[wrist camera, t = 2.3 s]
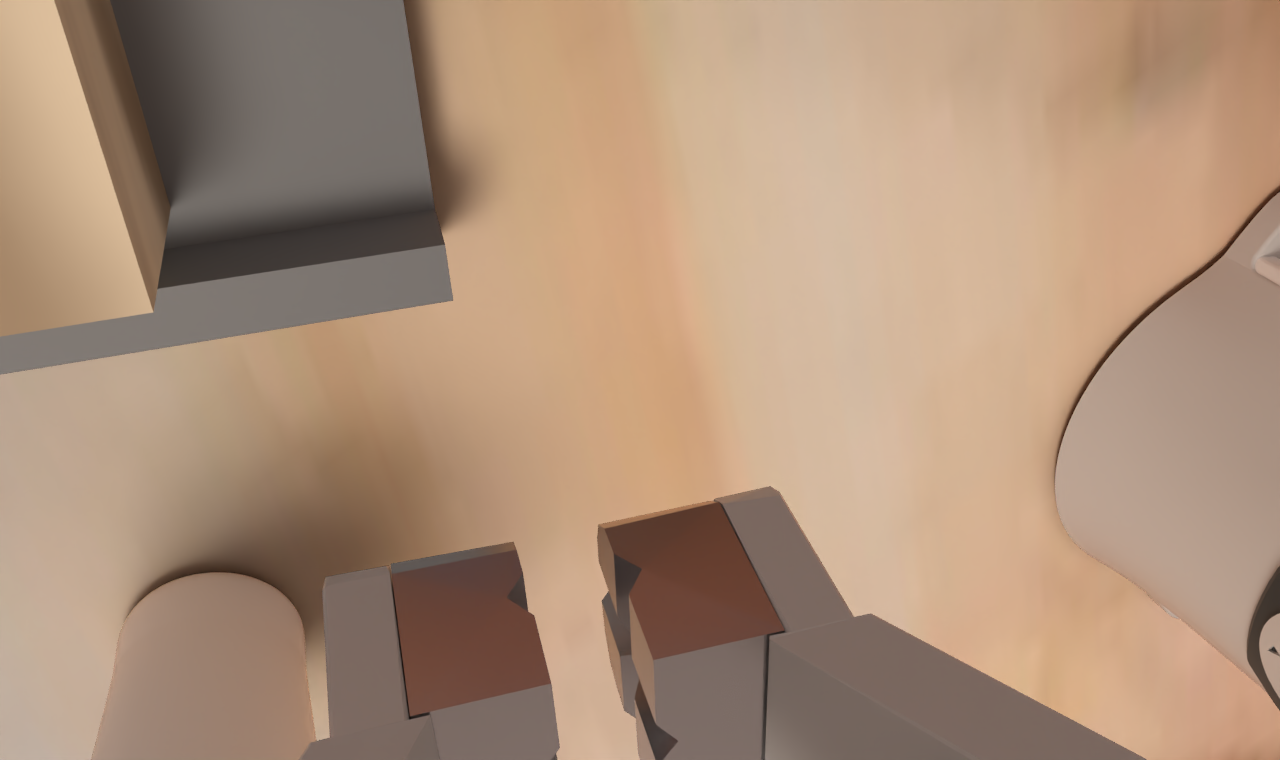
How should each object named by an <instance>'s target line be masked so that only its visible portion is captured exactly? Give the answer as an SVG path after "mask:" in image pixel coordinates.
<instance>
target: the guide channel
mask: <svg viewBox="0 0 1280 760" xmlns="http://www.w3.org/2000/svg"><path fill="white" fill-rule="evenodd" d="M110 2H111V5H112V8H113V12H114V15H115V19H116V22H117V26H118V29H119V32H120V36H121V39H122V43H123V46H124V50H125V53H126V56H127V60H128V63H129V67H130V70H131V74H132V77H133V80H134V84H135V87H136V91H137V94H138V98H139V101H140V105H141V108H142V111H143V115H144V118H145V122H146V125H147V129H148V132H149V135H150V139H151V142H152V146H153V149H154V153H155V156H156V159H157V163H158V166H159V170H160V173H161V177H162V180H163V183H164V187H165V190H166V194H167V197H168V201H169V204H170V207H171V209H170V215H169V222H168V228H167V234H166V240H165V246H164V252H163V258H162V264H161V270H160V276H159V282H158V288H157V294H156V300H155V306H154V312H153V313H147V314H140V315H134V316H128V317H121V318H115V319H109V320H102V321H96V322H90V323H83V324H77V325H71V326H64V327H58V328H52V329H45V330H39V331H33V332H26V333H20V334H14V335H7V336H1V337H0V374H7V373H13V372H19V371H25V370H31V369H37V368H43V367H49V366H55V365H62V364H68V363H74V362H80V361H86V360H92V359H98V358H104V357H111V356H117V355H123V354H129V353H135V352H141V351H147V350H153V349H159V348H166V347H172V346H178V345H184V344H190V343H196V342H202V341H208V340H214V339H221V338H227V337H233V336H239V335H245V334H251V333H257V332H263V331H270V330H276V329H282V328H288V327H294V326H300V325H306V324H312V323H318V322H325V321H331V320H337V319H343V318H349V317H355V316H361V315H367V314H373V313H380V312H386V311H392V310H398V309H404V308H410V307H416V306H422V305H429V304H435V303H441V302H447V301H453V295H452V289H451V282H450V275H449V269H448V262H447V255H446V249H445V243H444V240H443V236H442V233H441V229H440V225H439V222H438V218H437V215H436V211H435V206H434V200H433V193H432V186H431V180H430V173H429V167H428V160H427V153H426V147H425V140H424V134H423V127H422V121H421V114H420V107H419V101H418V94H417V88H416V81H415V74H414V68H413V61H412V55H411V48H410V41H409V35H408V28H407V22H406V15H405V8H404V2H403V0H110Z"/></svg>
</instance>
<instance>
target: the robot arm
mask: <svg viewBox="0 0 1280 760" xmlns="http://www.w3.org/2000/svg"><path fill="white" fill-rule="evenodd" d="M1055 496H1056V504H1057V509H1058V513H1059V516H1060V519H1061V521H1062V524H1063V526H1064V528H1065V530H1066V531H1067V533H1068V535H1069V536H1070V538H1071V539H1072V540H1073V541H1074V543H1075V544H1076V545H1077V546H1078V547H1079V548H1080V549H1082V550H1083V551H1084V552H1085V553H1087V554H1088V555H1090V556H1091V557H1093V558H1095V559H1096V560H1098V561H1100V562H1101V563H1103V564H1104V565H1106V566H1108V567H1109V568H1111V569H1113V570H1114V571H1116V572H1117V573H1119V574H1120V575H1122V576H1123V577H1125V578H1126V579H1128V580H1129V581H1131V582H1132V583H1134V584H1135V585H1136V586H1138V587H1139V588H1140V589H1142V590H1143V591H1144V592H1146V593H1147V595H1148V596H1149V597H1150V598H1151V599H1152V600H1153V601H1154V602H1155V603H1156V604H1157V605H1158V606H1160V607H1161V608H1162V609H1163V610H1164V611H1165V612H1166V613H1168V614H1169V615H1170V616H1172V617H1174V618H1177V619H1181V620H1182V621H1183V622H1184V623H1185V624H1187V625H1188V626H1189V627H1190V628H1191V629H1193V630H1194V631H1195V632H1196V633H1197V634H1198V635H1200V636H1201V637H1202V638H1203V639H1204V640H1206V641H1207V642H1208V643H1209V644H1210V645H1211V646H1213V647H1214V648H1215V649H1216V650H1217V651H1218V652H1220V653H1221V654H1222V655H1223V656H1224V657H1226V658H1227V659H1228V660H1229V661H1230V662H1231V663H1233V664H1234V665H1235V666H1236V667H1237V668H1238V669H1240V670H1241V671H1242V672H1243V673H1244V674H1246V675H1247V676H1248V677H1249V678H1250V679H1251V680H1253V681H1254V682H1255V683H1256V684H1257V685H1258V686H1260V687H1261V688H1262V689H1263V690H1264V691H1266V692H1267V693H1268V694H1269V696H1270V697H1271V699H1272V700H1273V702H1274V703H1275V705H1276V706H1277V707H1278V709H1279V710H1280V192H1279V193H1278V194H1277V195H1275V196H1274V197H1273V198H1272V199H1271V200H1270V201H1269V202H1268V203H1267V204H1266V205H1265V206H1264V207H1263V208H1262V209H1261V210H1260V212H1259V213H1258V214H1257V215H1256V216H1255V217H1254V218H1253V220H1252V221H1251V222H1250V223H1249V224H1248V226H1247V227H1246V228H1245V229H1244V231H1243V232H1242V233H1241V234H1240V235H1239V237H1238V238H1237V239H1236V240H1235V242H1234V243H1233V244H1232V246H1231V247H1230V248H1229V249H1228V251H1227V252H1226V253H1225V254H1224V256H1223V257H1221V258H1220V259H1219V260H1218V261H1217V262H1216V263H1215V264H1214V265H1213V266H1211V267H1210V268H1209V269H1208V270H1206V271H1205V272H1204V273H1203V274H1201V275H1200V276H1199V277H1197V278H1196V279H1195V280H1193V281H1192V282H1190V283H1189V284H1188V285H1186V286H1185V287H1184V288H1182V289H1181V290H1179V291H1178V292H1177V293H1175V294H1174V295H1173V296H1171V297H1170V298H1169V299H1167V300H1166V301H1165V302H1164V303H1162V304H1161V305H1160V306H1159V307H1158V308H1156V309H1155V310H1154V311H1153V312H1152V313H1151V314H1149V315H1148V316H1147V317H1146V318H1145V319H1144V320H1143V321H1142V322H1141V323H1140V324H1139V325H1138V326H1137V327H1136V328H1135V329H1134V330H1133V331H1132V332H1131V333H1130V334H1129V335H1128V336H1127V337H1126V338H1125V339H1124V340H1123V341H1122V342H1121V343H1120V344H1119V346H1118V347H1117V348H1116V349H1115V350H1114V351H1113V353H1112V354H1111V355H1110V356H1109V357H1108V359H1107V360H1106V361H1105V363H1104V364H1103V365H1102V367H1101V368H1100V369H1099V371H1098V372H1097V374H1096V375H1095V376H1094V378H1093V379H1092V381H1091V382H1090V384H1089V386H1088V387H1087V389H1086V390H1085V392H1084V394H1083V395H1082V397H1081V399H1080V401H1079V403H1078V405H1077V407H1076V408H1075V411H1074V413H1073V415H1072V417H1071V419H1070V421H1069V424H1068V426H1067V429H1066V432H1065V434H1064V437H1063V440H1062V444H1061V447H1060V451H1059V455H1058V460H1057V466H1056V474H1055ZM597 542H598V557H599V563H600V566H601V569H602V572H603V575H604V578H605V581H606V584H607V587H608V590H609V591H608V593H607V594H606V596H605V597H604V599H603V600H602V607H603V617H604V626H605V634H606V640H607V646H608V651H609V657H610V663H611V667H612V670H613V674H614V678H615V682H616V685H617V689H618V692H619V695H620V698H621V702H622V705H623V708H624V711H626V712H627V713H629V714H630V715H632V716H633V717H635V718H636V729H637V743H638V754H639V757H640V760H1146V759H1145V758H1143V757H1141V756H1139V755H1137V754H1136V753H1134V752H1132V751H1130V750H1128V749H1126V748H1124V747H1122V746H1120V745H1119V744H1117V743H1115V742H1113V741H1111V740H1109V739H1107V738H1105V737H1103V736H1102V735H1100V734H1098V733H1096V732H1094V731H1092V730H1090V729H1088V728H1086V727H1085V726H1083V725H1081V724H1079V723H1077V722H1075V721H1073V720H1071V719H1069V718H1068V717H1066V716H1064V715H1062V714H1060V713H1058V712H1056V711H1054V710H1052V709H1051V708H1049V707H1047V706H1045V705H1043V704H1041V703H1039V702H1037V701H1035V700H1034V699H1032V698H1030V697H1028V696H1026V695H1024V694H1022V693H1020V692H1018V691H1017V690H1015V689H1013V688H1011V687H1009V686H1007V685H1005V684H1003V683H1001V682H1000V681H998V680H996V679H994V678H992V677H990V676H988V675H986V674H984V673H983V672H981V671H979V670H977V669H975V668H973V667H971V666H969V665H967V664H966V663H964V662H962V661H960V660H958V659H956V658H954V657H952V656H950V655H949V654H947V653H945V652H943V651H941V650H939V649H937V648H935V647H933V646H932V645H930V644H928V643H926V642H924V641H922V640H920V639H918V638H916V637H915V636H913V635H911V634H909V633H907V632H905V631H903V630H901V629H899V628H898V627H896V626H894V625H892V624H890V623H888V622H886V621H884V620H882V619H881V618H879V617H877V616H875V615H873V614H867V615H862V616H857V617H854V616H853V615H852V613H851V611H850V609H849V608H848V606H847V604H846V603H845V601H844V599H843V598H842V596H841V594H840V593H839V591H838V589H837V588H836V586H835V584H834V583H833V581H832V579H831V578H830V576H829V574H828V573H827V571H826V569H825V567H824V566H823V564H822V562H821V561H820V559H819V557H818V556H817V554H816V552H815V551H814V549H813V547H812V546H811V544H810V542H809V541H808V539H807V537H806V536H805V534H804V532H803V530H802V529H801V527H800V525H799V524H798V522H797V520H796V519H795V517H794V515H793V514H792V512H791V510H790V509H789V507H788V505H787V504H786V502H785V500H784V499H783V497H782V495H781V494H780V492H779V491H777V490H775V489H774V488H772V487H771V486H769V487H765V488H760V489H756V490H751V491H747V492H742V493H738V494H734V495H729V496H725V497H720V498H716V499H714V501H707V502H702V503H697V504H692V505H688V506H683V507H678V508H673V509H669V510H664V511H659V512H655V513H650V514H645V515H640V516H636V517H631V518H626V519H621V520H617V521H612V522H607V523H603V524H598V535H597ZM322 595H323V614H324V633H325V653H326V672H327V691H328V710H329V729H330V738H327V739H323V740H319V741H315V742H311V743H309V745H308V746H307V748H306V749H305V751H304V752H303V754H302V755H301V757H300V758H299V760H557V756H556V752H557V751H558V749H559V748H560V746H559V738H558V731H557V723H556V716H555V708H554V700H553V693H552V685H551V681H550V677H549V673H548V669H547V665H546V661H545V657H544V653H543V649H542V645H541V641H540V637H539V633H538V629H537V625H536V621H535V617H534V615H533V614H531V613H529V612H528V607H527V599H526V592H525V585H524V578H523V572H522V568H521V565H520V561H519V557H518V554H517V550H516V547H515V545H514V542H509V543H504V544H498V545H493V546H487V547H482V548H476V549H470V550H465V551H459V552H454V553H448V554H443V555H437V556H432V557H426V558H421V559H415V560H410V561H404V562H398V563H393V564H391V568H390V566H383V567H377V568H372V569H366V570H361V571H355V572H350V573H344V574H339V575H333V576H328V577H325V582H324V586H323V590H322Z"/></svg>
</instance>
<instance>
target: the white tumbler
mask: <svg viewBox="0 0 1280 760" xmlns="http://www.w3.org/2000/svg"><path fill="white" fill-rule="evenodd" d="M315 741H316V734H315V727H314V721H313V714H312V707H311V700H310V693H309V686H308V679H307V671H306V647H305V633H304V628H303V624H302V621H301V618H300V616H299V614H298V612H297V610H296V608H295V607H294V605H293V604H292V603H291V601H290V600H289V599H288V598H287V597H286V596H285V595H284V594H283V593H281V592H280V591H279V590H277V589H276V588H275V587H273V586H271V585H270V584H268V583H266V582H264V581H261V580H259V579H256V578H253V577H250V576H246V575H241V574H236V573H228V572H209V573H200V574H194V575H189V576H185V577H182V578H179V579H176V580H173V581H171V582H168V583H166V584H164V585H162V586H160V587H158V588H157V589H155V590H154V591H152V592H151V593H149V594H148V595H147V596H145V597H144V598H143V599H142V600H141V601H140V602H139V603H138V604H137V605H136V606H135V607H134V608H133V609H132V611H131V612H130V613H129V615H128V617H127V618H126V620H125V622H124V624H123V626H122V629H121V631H120V635H119V638H118V643H117V649H116V656H115V662H114V669H113V675H112V680H111V684H110V688H109V692H108V696H107V700H106V704H105V708H104V712H103V716H102V720H101V723H100V727H99V731H98V735H97V739H96V742H95V746H94V750H93V754H92V757H91V760H299V758H300V757H301V755H302V754H303V752H304V751H305V749H306V748H307V746H308V745H309V743H311V742H315Z"/></svg>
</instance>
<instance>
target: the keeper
mask: <svg viewBox="0 0 1280 760" xmlns="http://www.w3.org/2000/svg"><path fill="white" fill-rule="evenodd" d="M170 209H171V207H170V204H169V201H168V197H167V194H166V190H165V187H164V183H163V180H162V177H161V173H160V170H159V166H158V163H157V159H156V156H155V153H154V149H153V146H152V142H151V139H150V135H149V132H148V129H147V125H146V122H145V118H144V115H143V111H142V108H141V105H140V101H139V98H138V94H137V91H136V87H135V84H134V80H133V77H132V74H131V70H130V67H129V63H128V60H127V56H126V53H125V50H124V46H123V43H122V39H121V36H120V32H119V29H118V26H117V22H116V19H115V15H114V12H113V8H112V5H111V2H110V0H0V337H1V336H7V335H14V334H20V333H26V332H33V331H39V330H45V329H52V328H58V327H64V326H71V325H77V324H83V323H90V322H96V321H102V320H109V319H115V318H121V317H128V316H134V315H140V314H147V313H153V312H154V306H155V300H156V294H157V288H158V282H159V276H160V270H161V264H162V258H163V252H164V246H165V240H166V234H167V228H168V222H169V215H170Z"/></svg>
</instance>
